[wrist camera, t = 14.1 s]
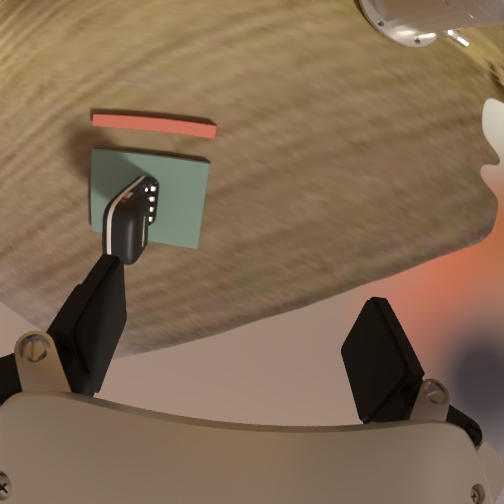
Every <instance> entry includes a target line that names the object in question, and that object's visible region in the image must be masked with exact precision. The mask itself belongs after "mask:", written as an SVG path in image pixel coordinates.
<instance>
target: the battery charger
mask: <svg viewBox="0 0 504 504" xmlns="http://www.w3.org/2000/svg"><path fill="white" fill-rule="evenodd" d="M158 197H159V183H158V181H157V180H155V179H153V178H151V177H146V176H138V177H137V178H136V179H135V180H134V181H133V182H131V183H130V184H129V185H128V186H126V187H125V188H124V189H122V190H121V191H120V192H119V193H118V194H117V195H116V196H115V197H114V198H113V199H112V200H111V201H110V202H109V203H108V204H107V206H106V208H105V210H104V213H103V221H102V245H103V254H110V255H115V256H118V257H119V260H120V261H123V264H125V265H131V264H133V263H135V262H136V261H137V259H138V258H139V257H140V255H141V254H142V252H143V250H144V249H145V247H146V245H147V242H148V226H150V225H151V224H153V223H154V222H155V220H156V214H157V205H158Z"/></svg>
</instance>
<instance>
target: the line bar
mask: <svg viewBox="0 0 504 504" xmlns="http://www.w3.org/2000/svg"><path fill="white" fill-rule="evenodd" d="M93 126H104V127H119V128H132V129H143V130H153V131H162V132H171V133H179V134H187V135H194V136H201V137H207V138H215V135H216V130H217V125H212V124H205V123H198V122H191V121H183V120H175V119H166V118H156V117H145V116H133V115H117V114H94V115H93Z"/></svg>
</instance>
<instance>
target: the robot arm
mask: <svg viewBox="0 0 504 504" xmlns="http://www.w3.org/2000/svg"><path fill="white" fill-rule="evenodd" d="M359 4H360V7H361V9H362V11H363V13H364V15H365V17H366V18H367V20H368V21H369V22H370V23H371V25H372V26H373V27H374V28H375V29H376V30H377V31H378V32H379V33H380V34H382V35H383V36H384V37H386V38H387V39H389V40H391V41H393V42H394V43H397V44H400V45H402V46H407V47H422V46H426V45H429V44H431V43H432V42H434V41H435V40H436V39H437V38H438V37H439V35H441V36H443V37H445V38H447V37H449V38H451V39H452V40H453V41H454V42H456V43H457V44H459V45H460V46H462V47H466V46H467V45H468V43H469V38H468V37H467V36H466V35H464V34H463V33H461V32H460V31H458V30H456V29H463V28H472V27H482V26H494V25H504V0H359ZM378 24H379V25H380V26H379V25H378ZM126 319H127V312H126V300H125V284H124V264H123V261H120V260H119V257H118V256H115V255H110V254H103V255H102V256H101V257H100V259H99V260H98V261H97V263H96V264H95V266H94V267H93V268H92V270H91V271H90V273H89V274H88V276H87V277H86V279H85V280H84V281H83V283H82V284H78V285H77V286H76V287H75V288H74V290H73V291H72V293H71V294H70V296H69V297H68V299H67V300H66V302H65V303H64V305H63V306H62V308H61V309H60V311H59V312H58V314H57V316H56V317H55V319H54V320H53V322H52V324H51V325H50V327H49V328H48V330H47V332H46V333H45V332H43V331H30V332H28V333H25V334H24V335H23V336H21V337H20V338H19V339H18V341H17V342H16V345H15V349H14V353H12V354H10V355H7V356H4V357H1V358H0V504H494V503H495V501H496V500H497V498H498V496H499V494H500V493H501V490H502V489H503V487H504V460H503V459H502V458H501V457H500V456H499V455H498V453H497V452H496V451H495V450H494V449H493V448H492V447H491V446H490V445H489V443H487V441H486V440H483V441H482V431H481V429H480V426H479V425H478V424H477V423H476V422H475V421H474V420H472V419H471V418H469V417H468V416H466V415H465V414H463V413H462V412H460V411H459V410H457V409H455V408H454V407H453V406H451V405H450V394H449V391H448V389H447V388H446V387H445V385H444V384H442V383H441V382H440V381H438V380H436V379H431V378H430V379H426V380H425V381H423V379H422V377H423V376H424V374H425V373H424V371H423V369H422V367H421V365H420V362H419V361H418V358H417V356H416V354H415V352H414V350H413V348H412V346H411V344H410V342H409V340H408V338H407V336H406V335H405V332H404V330H403V329H402V326H401V325H400V323H399V321H398V319H397V317H396V315H395V313H394V311H393V310H392V308H391V306H390V304H389V302H388V300H387V299H386V298H380V297H372V298H370V300H367V301H366V303H365V304H364V307H363V308H362V310H361V313H360V314H359V316H358V318H357V320H356V322H355V324H354V325H353V327H352V329H351V331H350V333H349V334H348V336H347V338H346V340H345V341H344V343H343V346H342V348H341V355H342V358H343V361H344V365H345V368H346V372H347V375H348V379H349V382H350V386H351V390H352V393H353V397H354V401H355V404H356V408H357V412H358V416H359V419H360V420H361V421H363V424H358V425H341V426H274V425H273V426H272V425H255V424H242V423H231V422H221V421H212V420H205V419H197V418H191V417H184V416H178V415H172V414H166V413H161V412H156V411H151V410H146V409H141V408H137V407H131V406H127V405H123V404H119V403H115V402H111V401H107V400H103V399H99V398H94V397H93V395H94V393H95V392H96V393H98V392H99V391H100V389H101V386H102V383H103V380H104V378H105V375H106V372H107V369H108V367H109V364H110V361H111V359H112V356H113V354H114V351H115V349H116V346H117V344H118V341H119V339H120V336H121V334H122V331H123V329H124V326H125V324H126Z"/></svg>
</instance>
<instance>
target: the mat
mask: <svg viewBox="0 0 504 504" xmlns="http://www.w3.org/2000/svg"><path fill="white" fill-rule="evenodd" d="M210 164H211V162H206V161H200V160H193V159H187V158H180V157H172V156H165V155H157V154H149V153H140V152H131V151H121V150H110V149H99V148H94V149H92V153H91V222H92V231H95V232H100V233H102V221H103V213H104V210H105V208H106V206H107V204H108V203H109V202H110V201H111V200H112V199H113V198H114V197H115V196H116V195H117V194H118V193H119V192H120V191H121V190H122V189H124V188H125V187H126V186H128V185H129V184H130V183H131V182H133V181H134V180H135V179H136V178H137V177H138V176H146V177H151V178H153V179H155V180H157V181H158V183H159V197H158V205H157V214H156V220H155V222H154V223H153V224H151V225H150V226H148V241H152V242H158V243H164V244H170V245H176V246H182V247H188V248H193V249H197V248H198V243H199V236H200V229H201V221H202V215H203V208H204V201H205V195H206V188H207V182H208V176H209V170H210Z"/></svg>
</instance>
